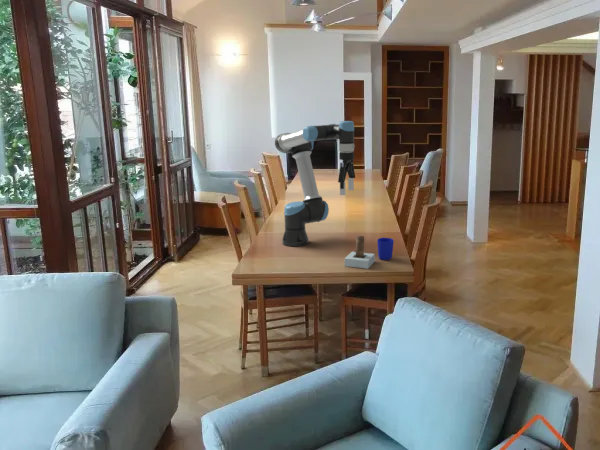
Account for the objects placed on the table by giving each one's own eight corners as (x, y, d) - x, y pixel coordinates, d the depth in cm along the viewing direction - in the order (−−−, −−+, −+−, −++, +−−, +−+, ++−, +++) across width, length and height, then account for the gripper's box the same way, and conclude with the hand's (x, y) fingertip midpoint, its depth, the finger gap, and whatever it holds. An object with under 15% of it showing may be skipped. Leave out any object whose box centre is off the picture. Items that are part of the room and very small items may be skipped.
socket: (344, 266, 255) (344, 258, 254) (352, 259, 266) (352, 251, 265) (368, 268, 250) (368, 260, 249) (374, 261, 261) (374, 253, 260)
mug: (389, 253, 273) (390, 235, 270) (394, 260, 261) (395, 241, 259) (374, 254, 273) (374, 236, 270) (378, 261, 261) (378, 242, 258)
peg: (354, 264, 257) (354, 237, 253) (357, 262, 261) (357, 235, 257) (362, 265, 255) (362, 238, 252) (364, 262, 259) (365, 236, 255)
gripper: (345, 154, 251) (346, 197, 256) (360, 149, 273) (360, 188, 278) (331, 154, 254) (331, 196, 259) (347, 149, 276) (347, 188, 281)
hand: (346, 192), depth 269 cm, fingers open, 13 cm apart
